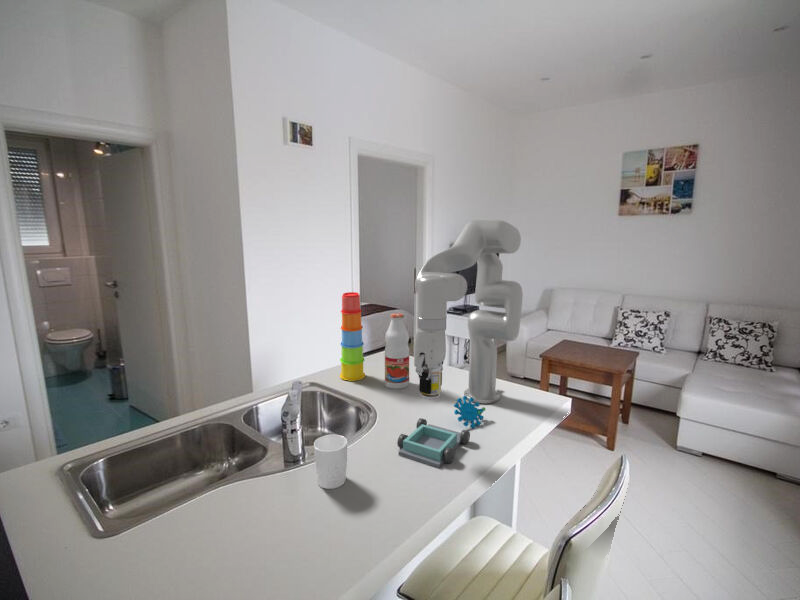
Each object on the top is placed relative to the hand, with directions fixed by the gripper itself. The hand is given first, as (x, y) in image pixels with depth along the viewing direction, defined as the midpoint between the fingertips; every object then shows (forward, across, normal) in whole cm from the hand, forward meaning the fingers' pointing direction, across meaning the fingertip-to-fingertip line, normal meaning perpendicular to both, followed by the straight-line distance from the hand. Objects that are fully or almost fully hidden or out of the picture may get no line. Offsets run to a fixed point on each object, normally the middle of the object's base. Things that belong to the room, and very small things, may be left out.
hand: (430, 388), depth 110 cm
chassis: (+18, -2, 0) cm, 18 cm away
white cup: (+18, +25, -14) cm, 34 cm away
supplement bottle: (+2, 0, 0) cm, 2 cm away
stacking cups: (+18, -32, -52) cm, 64 cm away
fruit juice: (+18, -35, -32) cm, 50 cm away
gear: (+18, -20, +4) cm, 27 cm away
